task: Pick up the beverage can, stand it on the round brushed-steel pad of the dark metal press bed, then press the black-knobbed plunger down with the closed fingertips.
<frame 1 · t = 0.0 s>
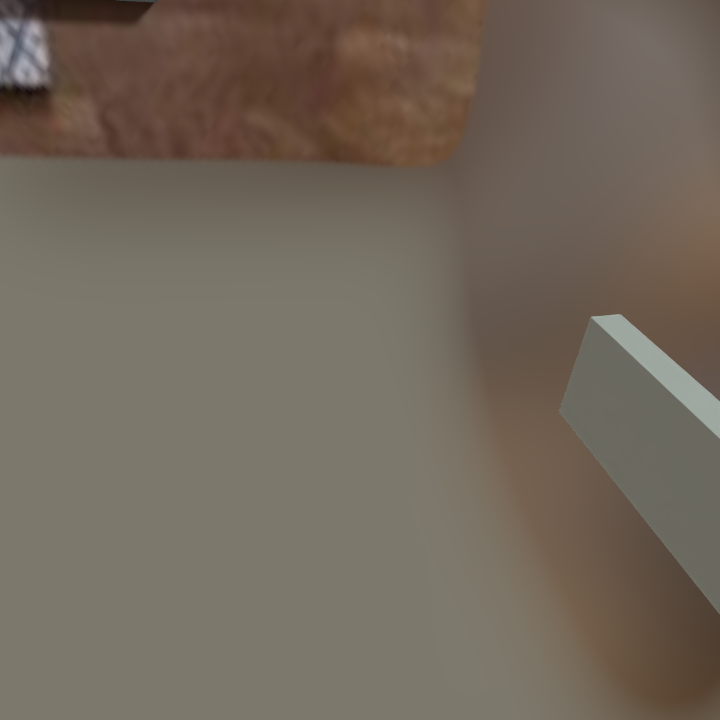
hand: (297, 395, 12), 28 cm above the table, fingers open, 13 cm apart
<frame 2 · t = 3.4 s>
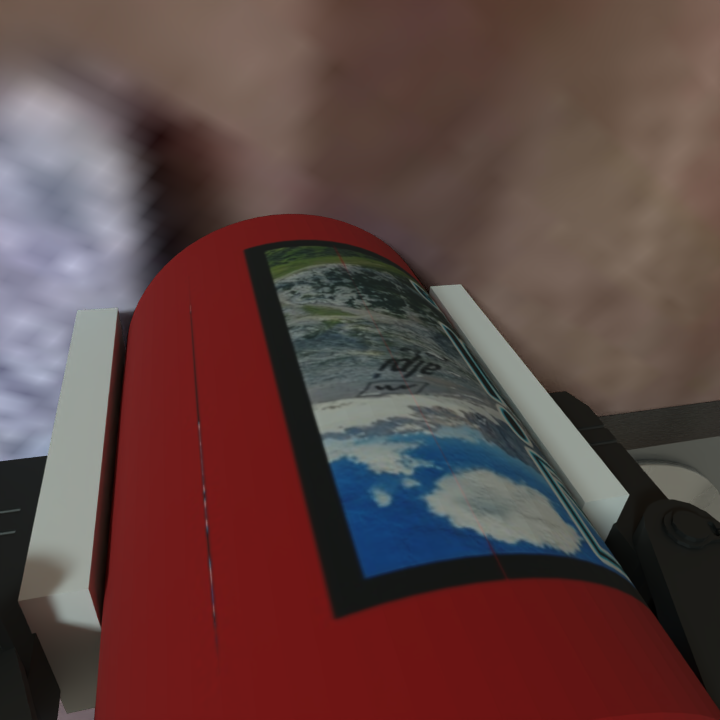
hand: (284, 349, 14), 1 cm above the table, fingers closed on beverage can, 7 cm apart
press: (548, 598, 25), on the table
beverage can: (279, 331, 14), on the table, touching gripper
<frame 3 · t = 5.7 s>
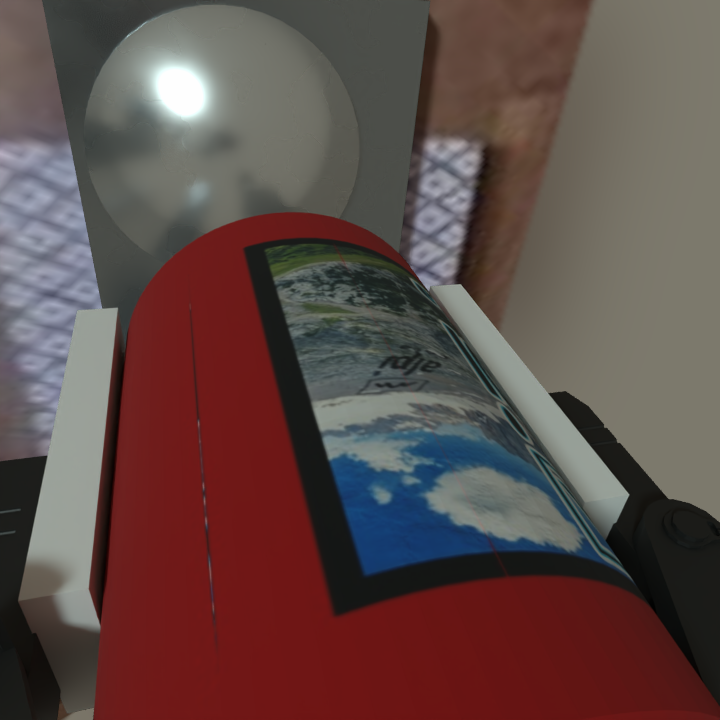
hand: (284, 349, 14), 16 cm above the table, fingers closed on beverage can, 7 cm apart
press: (252, 230, 29), on the table
beverage can: (279, 330, 14), point 15 cm above the table, touching gripper
when the fingers open (4 cm above the table, at t = 8.3 s): beverage can drops 1 cm, resting on press.
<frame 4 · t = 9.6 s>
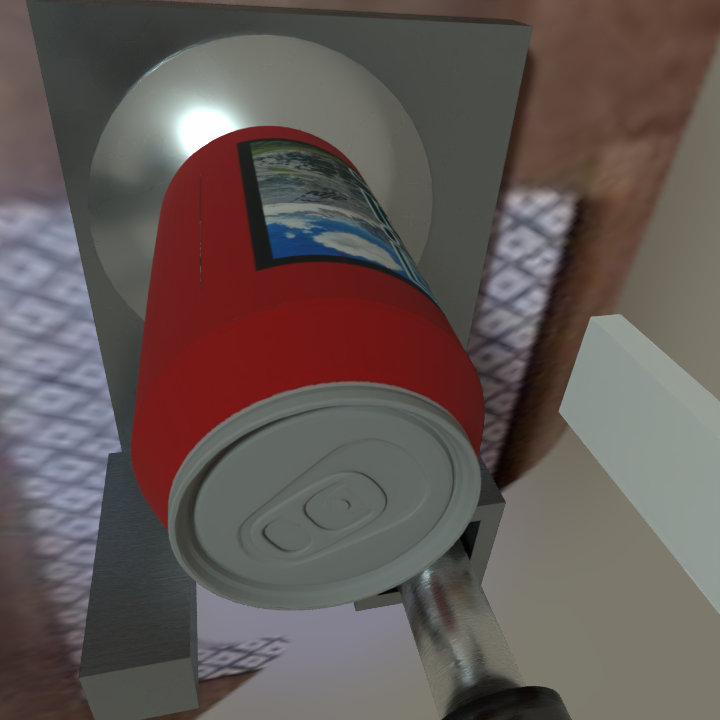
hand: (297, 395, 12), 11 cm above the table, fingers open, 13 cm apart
plunger: (451, 619, 21), point 10 cm above the table, slide at 0.0 cm
press: (293, 302, 24), on the table
beverage can: (268, 221, 20), point 2 cm above the table, touching press
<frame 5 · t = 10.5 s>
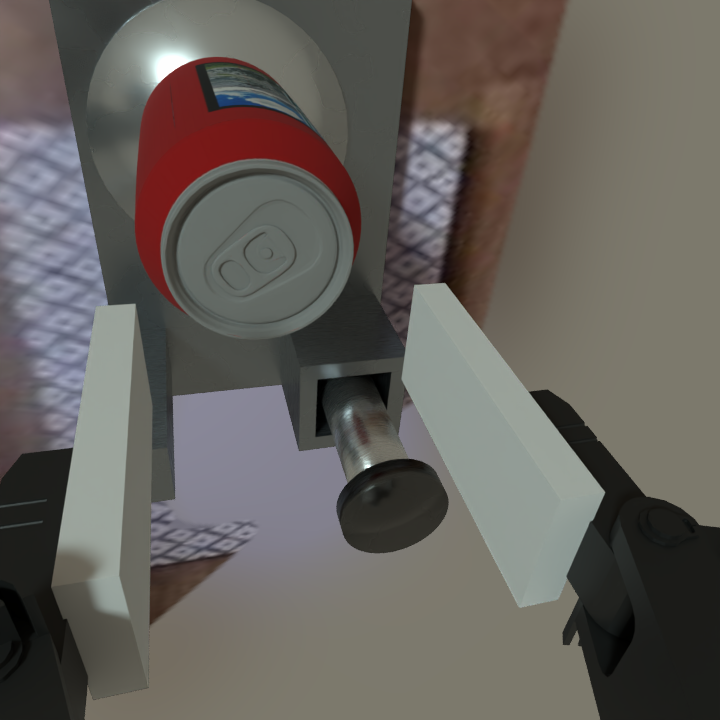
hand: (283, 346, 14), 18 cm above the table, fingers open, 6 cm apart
plunger: (366, 440, 28), point 10 cm above the table, slide at 0.0 cm
press: (246, 210, 30), on the table
beverage can: (222, 137, 26), point 2 cm above the table, touching press
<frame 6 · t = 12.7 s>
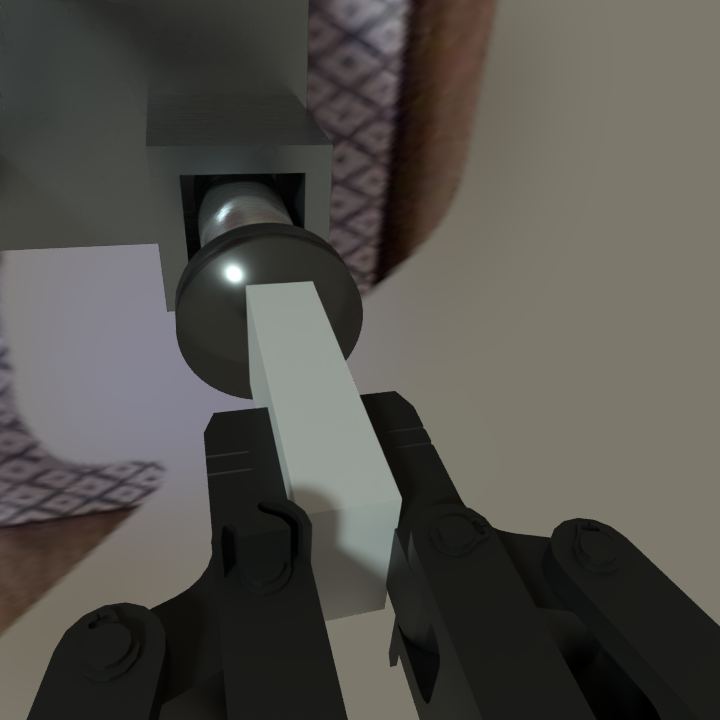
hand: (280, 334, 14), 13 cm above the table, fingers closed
plunger: (250, 245, 18), point 8 cm above the table, slide at 1.6 cm, touching gripper
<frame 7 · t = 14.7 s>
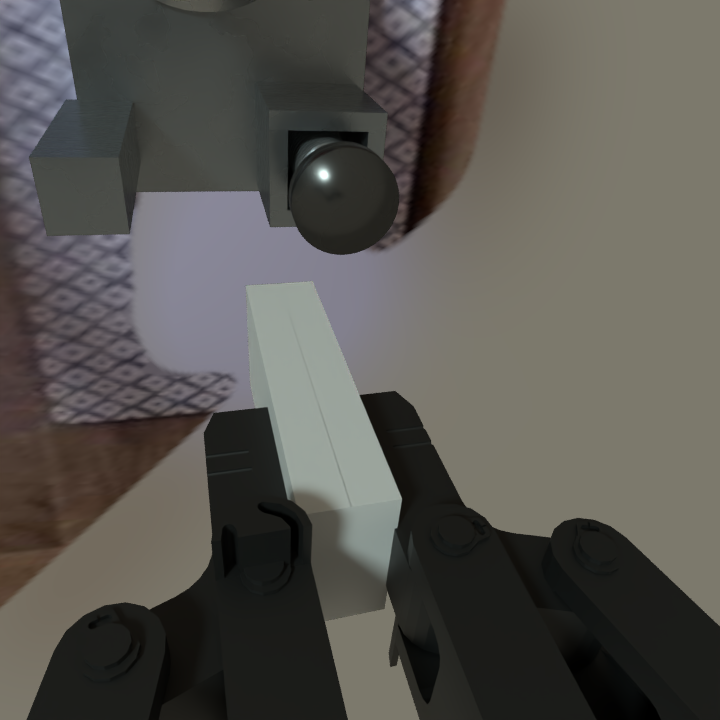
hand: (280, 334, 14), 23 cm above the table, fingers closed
plunger: (325, 168, 28), point 7 cm above the table, slide at 3.0 cm
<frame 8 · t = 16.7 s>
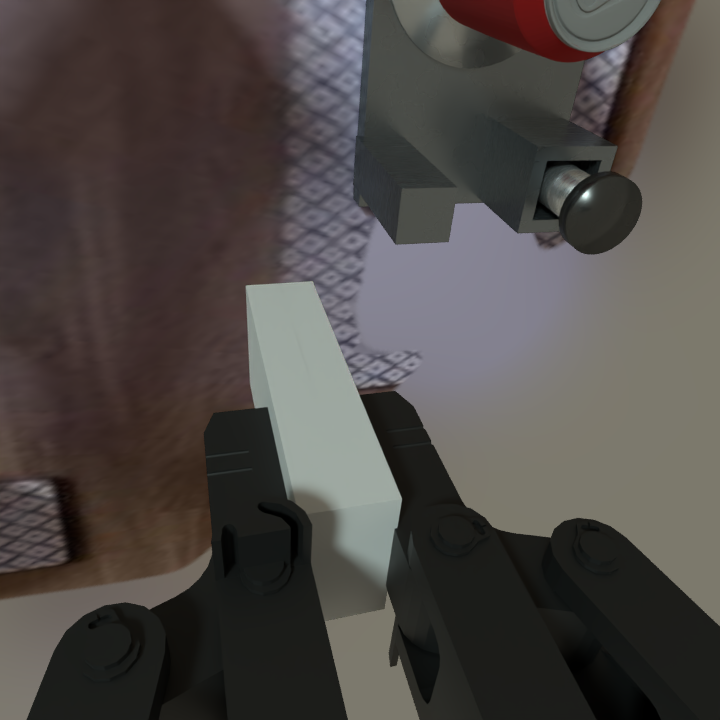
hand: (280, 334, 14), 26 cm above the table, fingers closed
plunger: (562, 188, 37), point 7 cm above the table, slide at 3.0 cm
press: (475, 36, 37), on the table
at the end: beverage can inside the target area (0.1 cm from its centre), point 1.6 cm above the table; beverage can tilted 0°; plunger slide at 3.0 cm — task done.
